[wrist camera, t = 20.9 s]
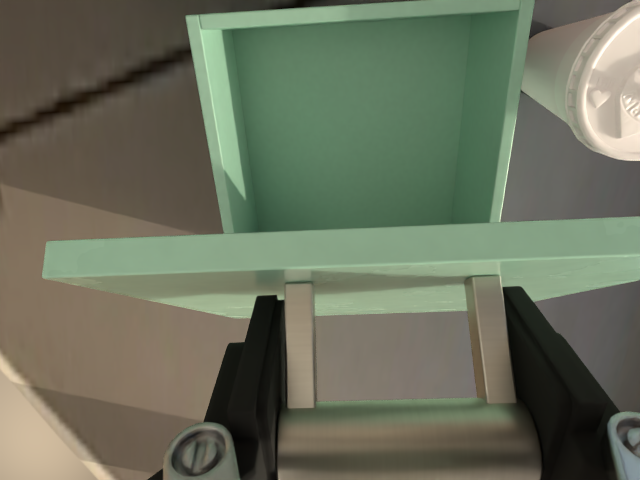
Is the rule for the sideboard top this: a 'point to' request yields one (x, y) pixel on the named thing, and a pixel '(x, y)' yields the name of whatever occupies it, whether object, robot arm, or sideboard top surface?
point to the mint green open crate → (361, 112)
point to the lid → (375, 298)
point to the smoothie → (591, 79)
